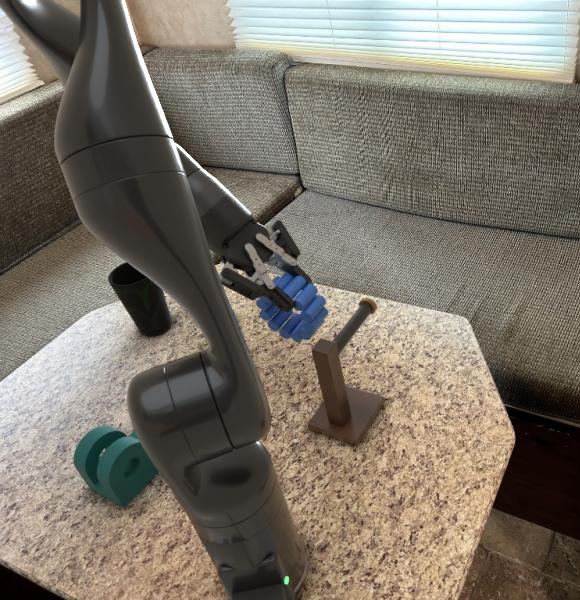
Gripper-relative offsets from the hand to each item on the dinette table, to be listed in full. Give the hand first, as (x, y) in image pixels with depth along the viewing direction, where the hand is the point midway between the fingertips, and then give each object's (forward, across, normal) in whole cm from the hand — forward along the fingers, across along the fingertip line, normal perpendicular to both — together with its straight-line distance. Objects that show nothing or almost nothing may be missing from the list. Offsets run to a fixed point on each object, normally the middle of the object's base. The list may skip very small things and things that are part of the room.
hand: (300, 298), depth 85 cm
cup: (-13, 0, +35) cm, 37 cm away
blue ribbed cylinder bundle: (+4, 0, +6) cm, 7 cm away
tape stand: (+17, -3, +5) cm, 18 cm away
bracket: (+1, -21, +21) cm, 30 cm away
